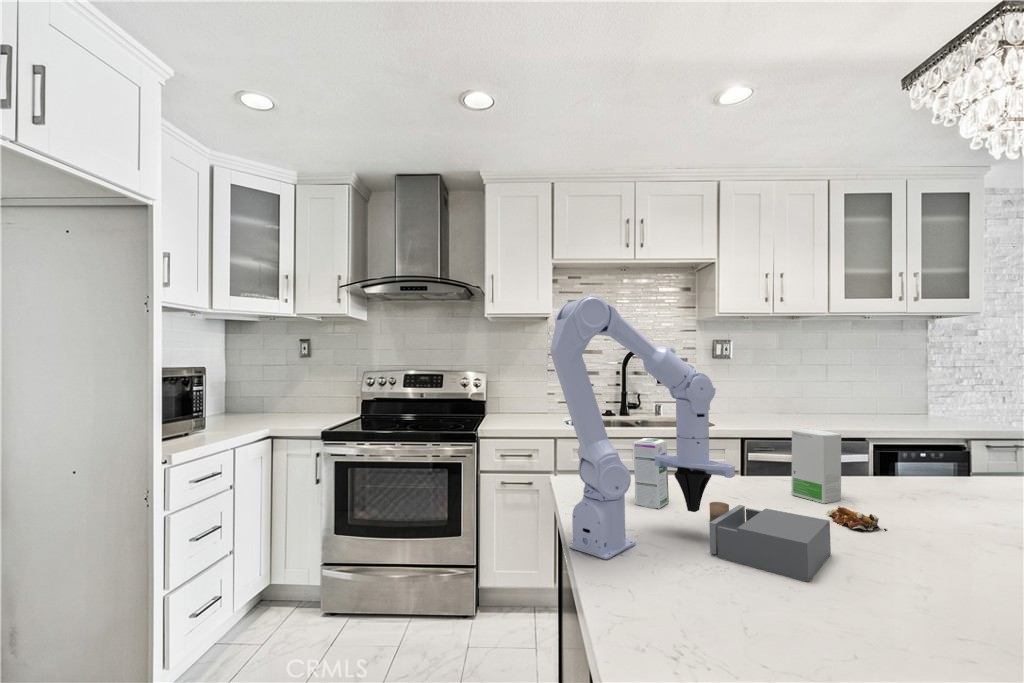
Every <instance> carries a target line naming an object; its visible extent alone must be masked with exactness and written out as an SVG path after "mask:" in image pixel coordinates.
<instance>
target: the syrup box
mask: <svg viewBox="0 0 1024 683" xmlns="http://www.w3.org/2000/svg"><path fill="white" fill-rule="evenodd" d="M667 445H668V444H667V440H666V439H664V438H663V439H662V438H656V437H655V438H654V437H652V438H650V437H646V438H644V437H643V438H641V439H639V440H635V441H633V464H634V465H633V466H634V469H633V470H634V494H635V495H634V496H635V505H636V506H639V505H641V506H640V507H643V506H646V507H645V508H649V507H652V508H651V509H655V508H658V510H661V508H663V507H665V506H666V505H667V503H668V504H669V502H670V500H669V475H668V474H669V473H668V467H665V466H655V456H657V455H667V456H668V452H667V451H668V447H667Z"/></svg>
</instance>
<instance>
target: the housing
mask: <svg viewBox="0 0 1024 683" xmlns="http://www.w3.org/2000/svg"><path fill="white" fill-rule="evenodd" d="M717 536H718V553H717V558H718V559H721V560H724V561H729V562H732V563H737V564H740V565H743V566H747V567H751V568H755V569H758V570H762V571H765V572H769V571H770V572H769V573H772V574H777V575H780V576H784V577H787V578H792V579H796V580H798V581H802V582H806V583H809V582H810V581H811V579H813V577H814V576H815V575H816V573H817V572H818V571H819V570H820V568H821V567H822V566H823V565H824V564H823V563H825V562H826V561H827V560H828V559H827V558H829V557H830V556H831V555H832V552H831V548H832V547H831V520H829V519H823V518H819V517H813V516H808V515H802V514H797V513H791V512H786V511H781V510H776V509H771V508H764V509H762V510H758V509H754V508H753V509H752V508H747V507H746V508H745V523H744V524H742V525H741V526H739V527H738V528H737V530H735V529H730V528H726V527H721V526H718V527H717ZM830 554H831V555H830ZM826 559H827V560H826Z"/></svg>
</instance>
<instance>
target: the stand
mask: <svg viewBox="0 0 1024 683" xmlns="http://www.w3.org/2000/svg"><path fill="white" fill-rule="evenodd" d="M728 511H730V504H729V503H725V502H723V501H722V502H721V501H711V502H709V523H710V522H711V521H713V520H715V519H716V518H718V517H720V516H721V515H723V514H725V513H726V512H728Z"/></svg>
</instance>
